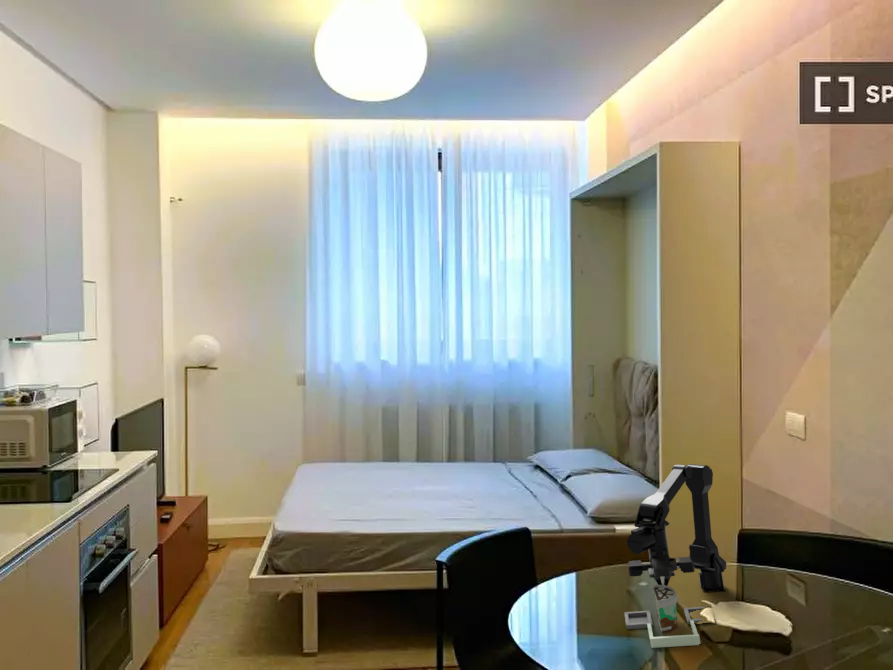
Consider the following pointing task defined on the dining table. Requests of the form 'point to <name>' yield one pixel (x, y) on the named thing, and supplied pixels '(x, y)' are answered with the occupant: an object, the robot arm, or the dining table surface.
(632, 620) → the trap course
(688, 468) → the robot arm
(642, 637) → the dining table surface
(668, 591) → the food container
